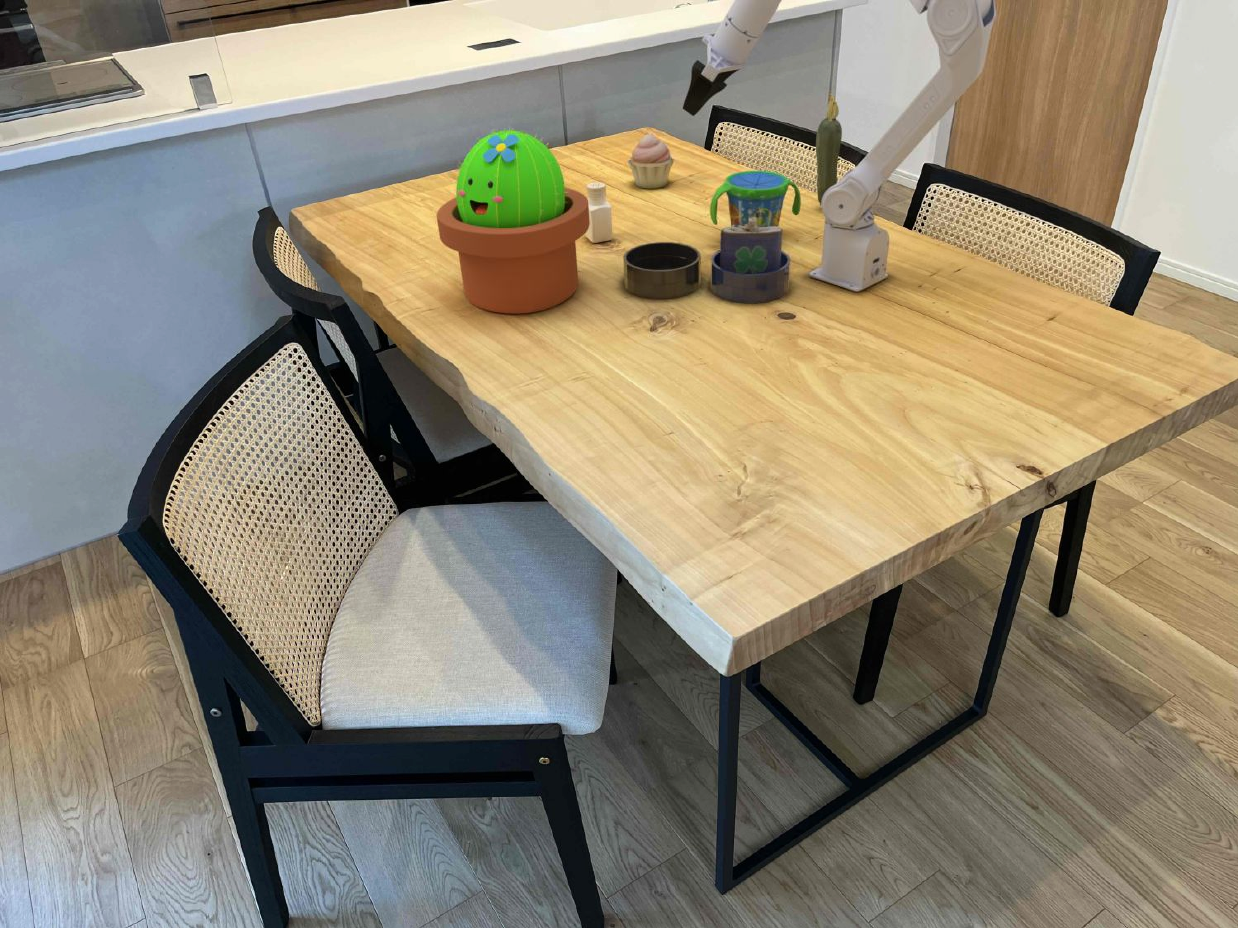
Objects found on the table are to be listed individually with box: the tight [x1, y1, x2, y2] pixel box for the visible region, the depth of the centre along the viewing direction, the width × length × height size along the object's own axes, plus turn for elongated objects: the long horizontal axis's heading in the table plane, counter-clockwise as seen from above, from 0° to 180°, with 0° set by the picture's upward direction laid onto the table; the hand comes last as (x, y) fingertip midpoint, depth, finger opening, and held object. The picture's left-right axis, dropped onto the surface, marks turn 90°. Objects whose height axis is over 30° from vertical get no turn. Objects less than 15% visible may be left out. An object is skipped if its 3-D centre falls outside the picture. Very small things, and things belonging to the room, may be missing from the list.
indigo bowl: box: [709, 250, 792, 304], centre depth 142 cm, size 12×12×4 cm
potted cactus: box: [436, 126, 590, 314], centre depth 139 cm, size 22×22×25 cm
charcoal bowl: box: [622, 241, 702, 300], centre depth 145 cm, size 12×12×4 cm
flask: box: [719, 217, 783, 274], centre depth 140 cm, size 9×3×11 cm, turn 87°
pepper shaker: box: [585, 181, 614, 244], centre depth 161 cm, size 4×4×10 cm
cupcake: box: [626, 132, 676, 190], centre depth 184 cm, size 9×9×10 cm
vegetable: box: [815, 93, 843, 207], centre depth 165 cm, size 4×4×20 cm
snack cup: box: [709, 170, 802, 228], centre depth 158 cm, size 16×10×10 cm
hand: (696, 103), depth 143 cm, fingers open, 7 cm apart
